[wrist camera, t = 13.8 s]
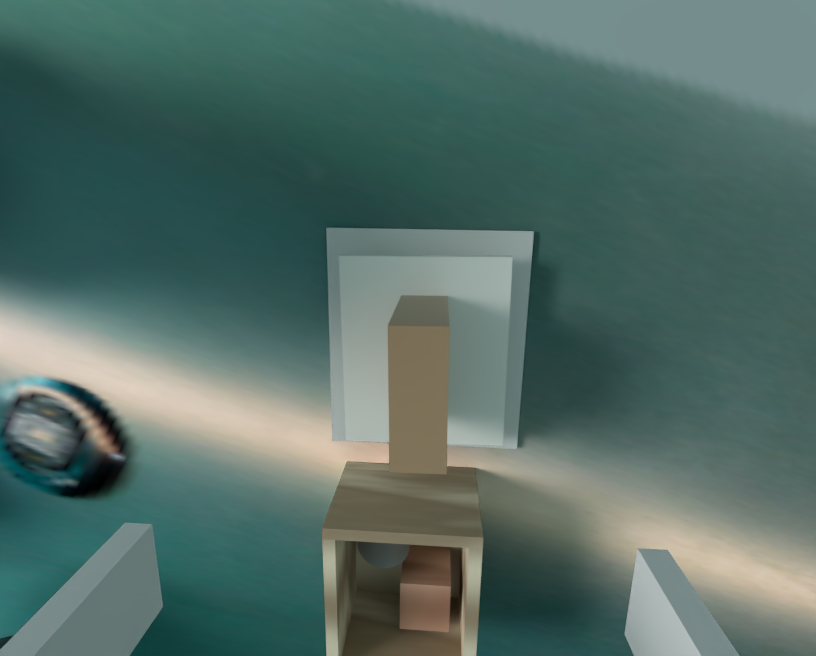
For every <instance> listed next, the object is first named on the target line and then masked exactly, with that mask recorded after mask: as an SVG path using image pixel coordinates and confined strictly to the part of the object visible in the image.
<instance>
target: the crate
mask: <svg viewBox="0 0 816 656" xmlns="http://www.w3.org/2000/svg"><path fill="white" fill-rule="evenodd" d="M322 542H323V569H324V597H325V624H326V652H327V656H476V650H477V633H478V617H479V601H480V585H481V569H482V553H483V530H482V522H481V514H480V505H479V497H478V489H477V481H476V473H475V468H465V467H447V474H420V473H392V472H390V470H389V464H384V463H363V462H346V465H345V468H344V470H343V473H342V476H341V479H340V481H339V484H338V487H337V489H336V492H335V495H334V497H333V500H332V503H331V505H330V508H329V511H328V514H327V516H326V519H325V522H324V524H323V527H322Z"/></svg>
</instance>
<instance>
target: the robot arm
mask: <svg viewBox="0 0 816 656" xmlns="http://www.w3.org/2000/svg"><path fill="white" fill-rule="evenodd" d="M162 608H163V603H162V595H161V588H160V580H159V573H158V565H157V558H156V550H155V543H154V535H153V528H152V524H138V523H125V524H124V525H123V526H122V527H121V528H120V529H119V530H118V531H117V532H116V533H115V534H114V535H113V536H112V537H111V538H110V539H109V540H108V541H107V542H106V543H105V544H104V545H103V546H102V547H101V548H100V549H99V550H98V551H97V552H96V553H95V554H94V555H93V556H92V557H91V558H90V559H89V560H88V561H87V562H86V563H85V564H84V565H83V566H82V567H81V568H80V569H79V570H78V571H77V572H76V573H75V574H74V575H73V576H72V577H71V578H70V579H69V580H68V581H67V582H66V583H65V584H64V585H63V586H62V587H61V588H60V589H59V590H58V591H57V592H56V593H55V594H54V595H53V597H52V598H51V599H50V600H49V601H48V602H47V603H46V604H45V605H44V606H43V607H42V608H41V609H40V610H39V611H38V612H37V613H36V614H35V615H34V616H33V617H32V618H31V619H30V620H29V621H28V622H27V623H26V624H25V625H24V626H23V627H22V628H21V629H20V630H19V631H18V632H17V633H16V634H15V635H14V636H11V637H6V638H2V639H0V656H130V654H131V653H132V651H133V650H134V648H135V647H136V645H137V644H138V643H139V641H140V640H141V638H142V637H143V635H144V634H145V632H146V631H147V629H148V628H149V627H150V625H151V624H152V622H153V621H154V619H155V618H156V616H157V615H158V613H159V612H160V610H161V609H162ZM625 636H626V638H627V641H628V643H629V645H630V647H631V650H632V652H633V654H634V656H739V655H738V653H737V652H736V650H735V649H734V647H733V646H732V644H731V643H730V641H729V640H728V638H727V637H726V635H725V634H724V632H723V631H722V630H721V628H720V627H719V625H718V624H717V622H716V621H715V619H714V618H713V616H712V615H711V613H710V612H709V610H708V609H707V607H706V606H705V604H704V603H703V601H702V600H701V599H700V597H699V596H698V594H697V593H696V591H695V590H694V588H693V587H692V585H691V584H690V582H689V581H688V579H687V578H686V576H685V575H684V573H683V572H682V571H681V569H680V568H679V566H678V565H677V563H676V562H675V560H674V559H673V557H672V556H671V554H670V553H669V551H668V550H658V549H637V556H636V562H635V569H634V575H633V582H632V589H631V595H630V602H629V608H628V615H627V621H626V628H625Z"/></svg>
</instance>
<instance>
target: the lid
mask: <svg viewBox="0 0 816 656" xmlns="http://www.w3.org/2000/svg"><path fill="white" fill-rule="evenodd" d="M512 261H513V257H512V256H511V255H340V256H339V274H340V300H341V327H342V353H343V379H344V406H345V432H346V441H370V442H389V470H390V472H392V473H420V474H447V444H464V445H496V446H503V432H504V413H505V394H506V375H507V356H508V337H509V318H510V299H511V280H512Z"/></svg>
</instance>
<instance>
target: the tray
mask: <svg viewBox="0 0 816 656" xmlns="http://www.w3.org/2000/svg"><path fill="white" fill-rule="evenodd" d="M326 234H327V269H328V304H329V339H330V374H331V409H332V440H335V441H346V432H345V406H344V379H343V353H342V327H341V300H340V274H339V256H340V255H511V256H512V257H513V261H512V280H511V299H510V318H509V337H508V356H507V375H506V394H505V413H504V432H503V446H496V445H464V444H447V446H464V447H486V448H508V449H517V440H518V428H519V415H520V402H521V389H522V377H523V364H524V351H525V338H526V326H527V313H528V300H529V287H530V275H531V262H532V249H533V236H534V231H493V230H436V229H380V228H326ZM356 442H370V441H356ZM378 443H389V442H378Z"/></svg>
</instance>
